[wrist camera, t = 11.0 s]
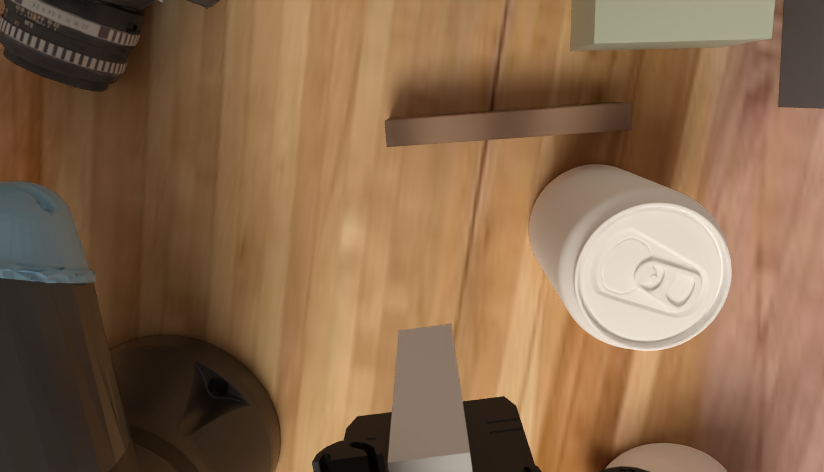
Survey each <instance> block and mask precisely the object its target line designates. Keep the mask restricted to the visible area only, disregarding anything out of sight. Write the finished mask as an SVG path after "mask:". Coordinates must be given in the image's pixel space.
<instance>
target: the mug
mask: <svg viewBox="0 0 824 472" xmlns="http://www.w3.org/2000/svg"><path fill="white" fill-rule="evenodd" d="M619 466H626V467H637V468H640V469H643V470H646V471H650V472H727V470H726V469H725V468H724V467H723V466H722V465H721V464H720V463H719V462H718V461H717V460H715V459H714V458H713V457H711V456H710V455H708V454H706V453H704V452H702V451H700V450H698V449H695V448H692V447H689V446H685V445H680V444H674V443H653V444H646V445H642V446H638V447H635V448H632V449H630V450H628V451H626V452H624V453H622V454H621V455H619V456H618V457H617V458H616V459H614V460H613V461H612V462H611V463H610V464H609V465H608V466H607V467H606V468H605V469H607V468H612V467H619Z"/></svg>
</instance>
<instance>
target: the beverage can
mask: <svg viewBox="0 0 824 472" xmlns="http://www.w3.org/2000/svg"><path fill="white" fill-rule="evenodd" d="M529 240H530V244H531V248H532V251H533V253H534V255H535V257H536V259H537V261H538V263H539V264H540V266H541V268H542V269H543V271H544V272H545V274H546V276H547V277H548V279H549V281H550V282H551V284H552V285H553V287H554V289H555V290H556V292H557V294H558V295H559V297H560V299H561V300H562V302H563V303H564V305H565V307H566V308H567V310H568V312H569V313H570V314H571V316H572V317H573V319H574V320H575V321H576V322H577V323H578V324H579V325H580V326H581V327H582V328H583V329H584V330H585V331H586V332H588V333H589V334H590V335H592V336H594V337H595V338H597V339H599V340H601V341H603V342H605V343H608V344H610V345H613V346H617V347H621V348H627V349H633V350H642V351H654V350H662V349H667V348H671V347H674V346H677V345H679V344H682V343H684V342H686V341H688V340H690V339H691V338H693V337H695V336H696V335H698V334H699V333H700V332H702V331H703V330H704V329H705V328H706V327H707V326H708V325H709V324H710V323H711V322H712V321H713V320H714V319H715V317H716V316H717V315H718V313H719V312H720V310H721V308H722V306H723V305H724V302H725V300H726V298H727V295H728V292H729V288H730V284H731V275H732V268H731V259H730V254H729V251H728V247H727V243H726V240H725V237H724V234H723V232H722V230H721V228H720V226H719V225H718V223H717V222H716V220H715V219H714V217H713V216H712V215H711V214H710V213H709V212H708V211H707V210H706V209H705V208H704V207H703V206H702V205H701V204H700V203H698V202H697V201H695V200H694V199H692V198H691V197H689V196H687V195H685V194H683V193H680V192H678V191H675V190H673V189H670V188H668V187H665V186H663V185H660V184H658V183H655V182H653V181H650V180H648V179H645V178H643V177H640V176H638V175H635V174H633V173H630V172H628V171H625V170H623V169H620V168H617V167H614V166H610V165H603V164H590V165H584V166H579V167H576V168H573V169H570V170H568V171H566V172H564V173H562V174H561V175H559V176H558V177H556V178H555V179H554V180H552V181H551V182H550V183H549V184H548V185H547V186H546V187H545V188H544V189H543V191H542V192H541V193H540V195H539V196H538V198H537V200H536V202H535V204H534V206H533V209H532V212H531V215H530V220H529Z"/></svg>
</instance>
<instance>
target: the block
mask: <svg viewBox="0 0 824 472" xmlns="http://www.w3.org/2000/svg"><path fill="white" fill-rule="evenodd" d="M774 8H775V0H572V9H571V42H570V51H604V50H641V49H678V48H715V47H726V46H732V45H737V44H743V43H749V42H755V41H761V40H767V39H772V29H773V18H774Z"/></svg>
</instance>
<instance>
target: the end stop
mask: <svg viewBox="0 0 824 472" xmlns="http://www.w3.org/2000/svg"><path fill="white" fill-rule="evenodd" d="M778 107H795V108H823V109H824V0H784V10H783V29H782V48H781V67H780V86H779V104H778Z"/></svg>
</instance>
